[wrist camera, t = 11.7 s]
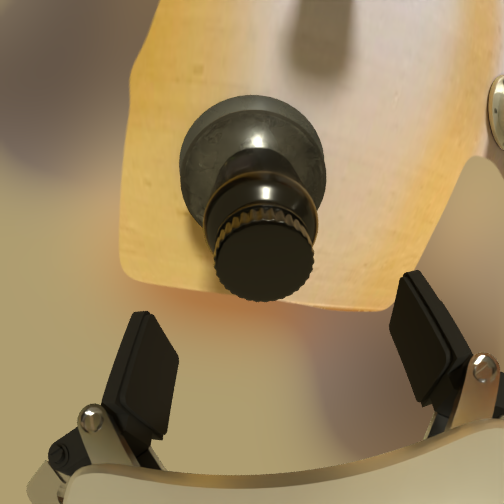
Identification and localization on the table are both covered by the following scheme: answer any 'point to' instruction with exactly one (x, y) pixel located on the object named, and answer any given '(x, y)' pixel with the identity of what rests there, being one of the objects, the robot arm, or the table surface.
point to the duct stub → (248, 145)
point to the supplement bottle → (260, 226)
